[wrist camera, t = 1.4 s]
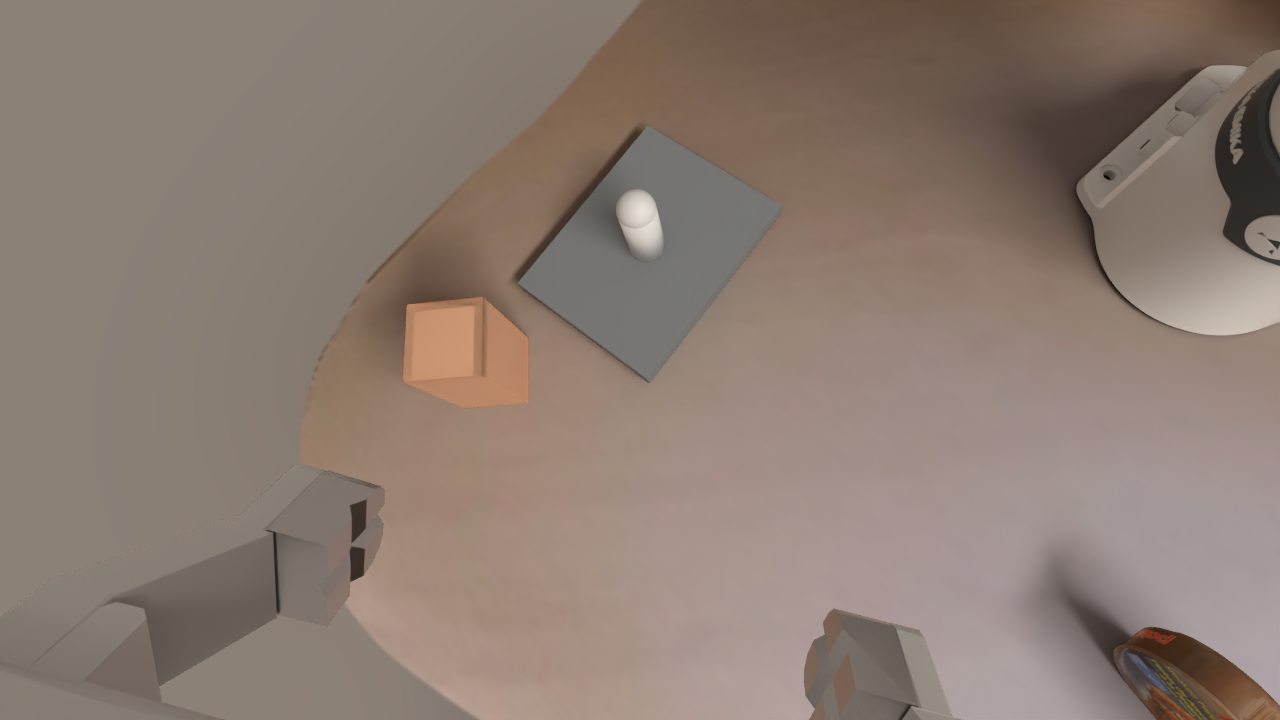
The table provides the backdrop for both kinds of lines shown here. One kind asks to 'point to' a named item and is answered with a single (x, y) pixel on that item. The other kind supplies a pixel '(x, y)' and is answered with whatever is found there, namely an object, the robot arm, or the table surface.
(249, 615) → the robot arm
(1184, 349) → the table surface
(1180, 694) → the tin
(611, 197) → the base
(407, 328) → the tall lidded tan box
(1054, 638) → the table surface
